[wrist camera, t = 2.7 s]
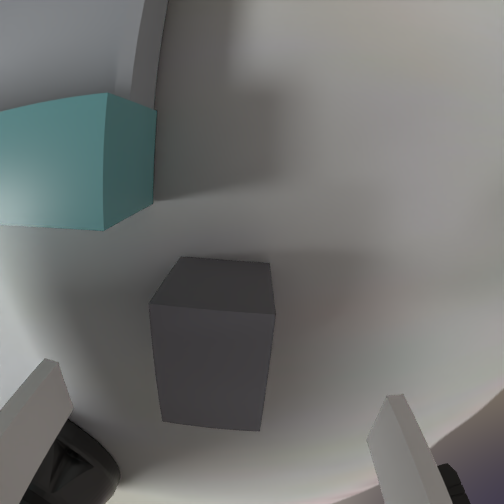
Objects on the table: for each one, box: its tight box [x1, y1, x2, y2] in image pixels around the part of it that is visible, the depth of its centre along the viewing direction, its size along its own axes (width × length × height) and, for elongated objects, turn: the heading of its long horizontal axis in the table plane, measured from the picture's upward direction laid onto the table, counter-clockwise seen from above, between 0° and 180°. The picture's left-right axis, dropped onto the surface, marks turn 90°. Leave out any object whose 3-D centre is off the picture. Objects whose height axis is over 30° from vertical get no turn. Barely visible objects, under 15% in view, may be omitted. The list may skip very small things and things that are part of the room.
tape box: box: [149, 257, 276, 431], centre depth 16 cm, size 7×5×6 cm
